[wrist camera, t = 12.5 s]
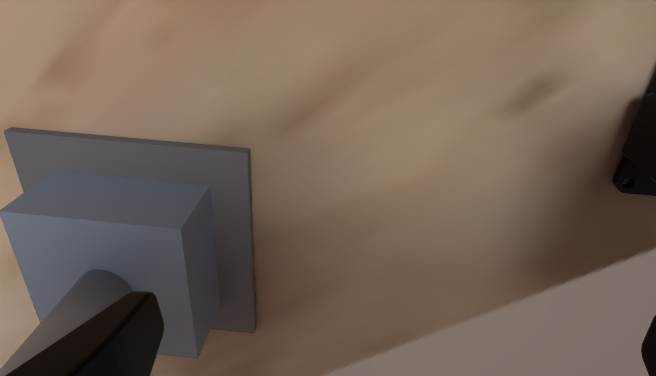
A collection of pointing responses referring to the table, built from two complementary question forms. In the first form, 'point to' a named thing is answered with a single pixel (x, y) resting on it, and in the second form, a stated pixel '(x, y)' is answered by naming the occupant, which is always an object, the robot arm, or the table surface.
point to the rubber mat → (170, 166)
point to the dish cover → (114, 255)
